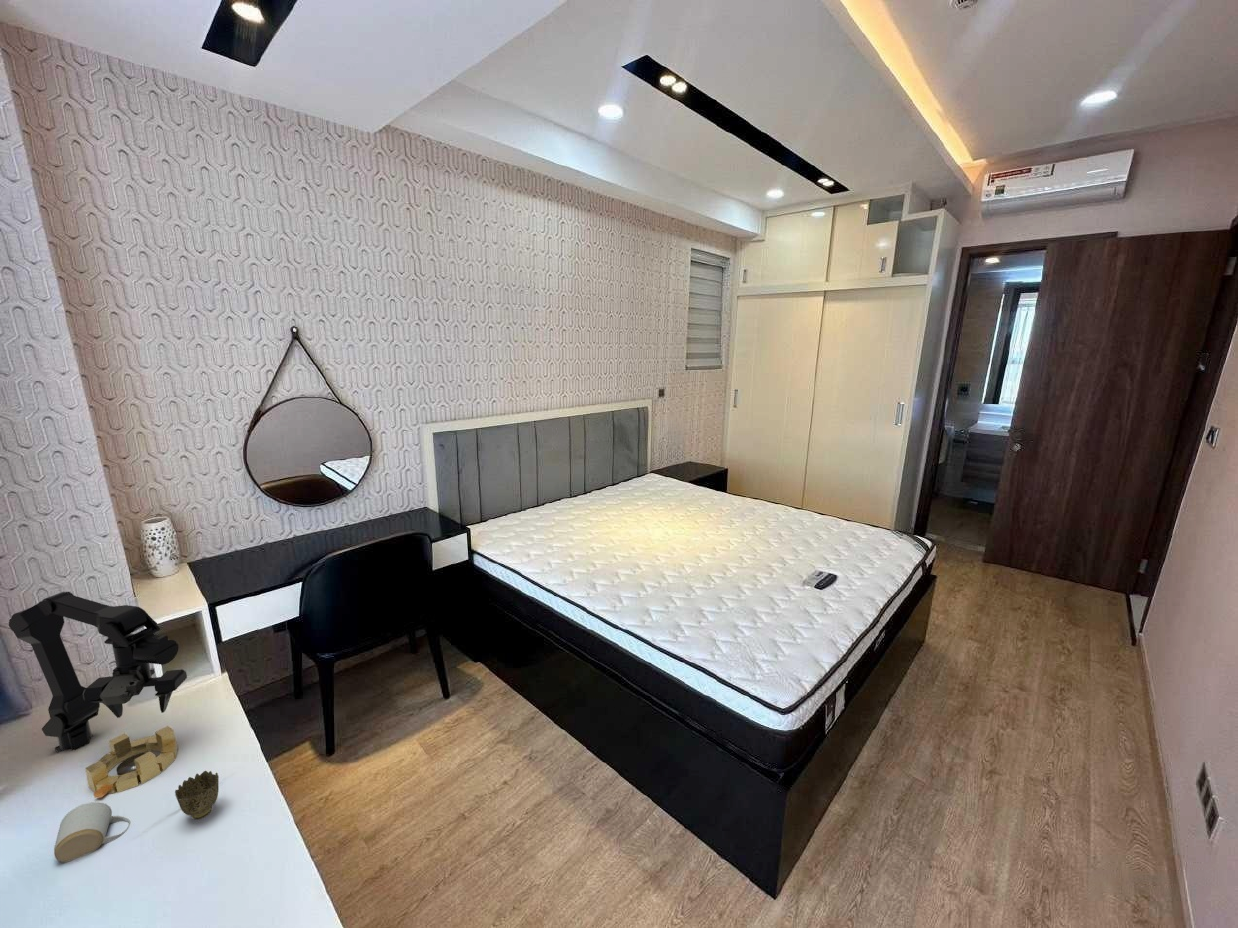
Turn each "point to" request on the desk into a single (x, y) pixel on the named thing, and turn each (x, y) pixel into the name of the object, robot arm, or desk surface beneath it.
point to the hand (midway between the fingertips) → (142, 714)
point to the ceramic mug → (85, 830)
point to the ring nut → (144, 764)
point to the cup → (198, 794)
